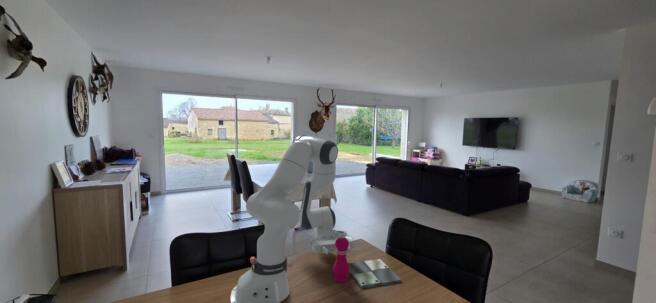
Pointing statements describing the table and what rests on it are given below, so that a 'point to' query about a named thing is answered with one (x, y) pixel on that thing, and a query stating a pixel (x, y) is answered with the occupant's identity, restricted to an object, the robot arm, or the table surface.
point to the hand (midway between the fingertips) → (338, 251)
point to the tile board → (372, 273)
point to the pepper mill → (341, 260)
